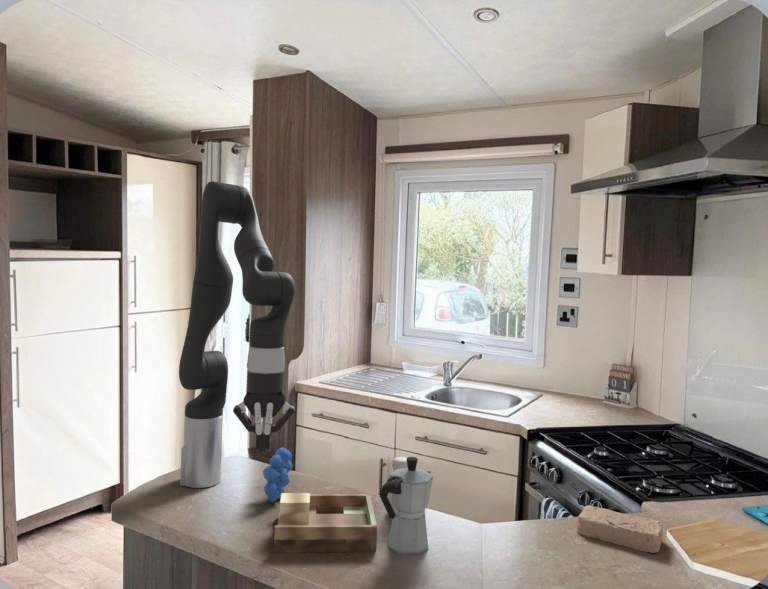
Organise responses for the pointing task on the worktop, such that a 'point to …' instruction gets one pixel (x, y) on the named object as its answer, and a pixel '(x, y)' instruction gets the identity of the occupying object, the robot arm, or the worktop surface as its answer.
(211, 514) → the worktop surface
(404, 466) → the salt shaker
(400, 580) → the worktop surface
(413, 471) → the coffee maker
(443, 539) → the worktop surface
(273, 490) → the grapes
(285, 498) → the birch block
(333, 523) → the box
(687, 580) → the worktop surface
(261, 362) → the robot arm
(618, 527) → the brick
